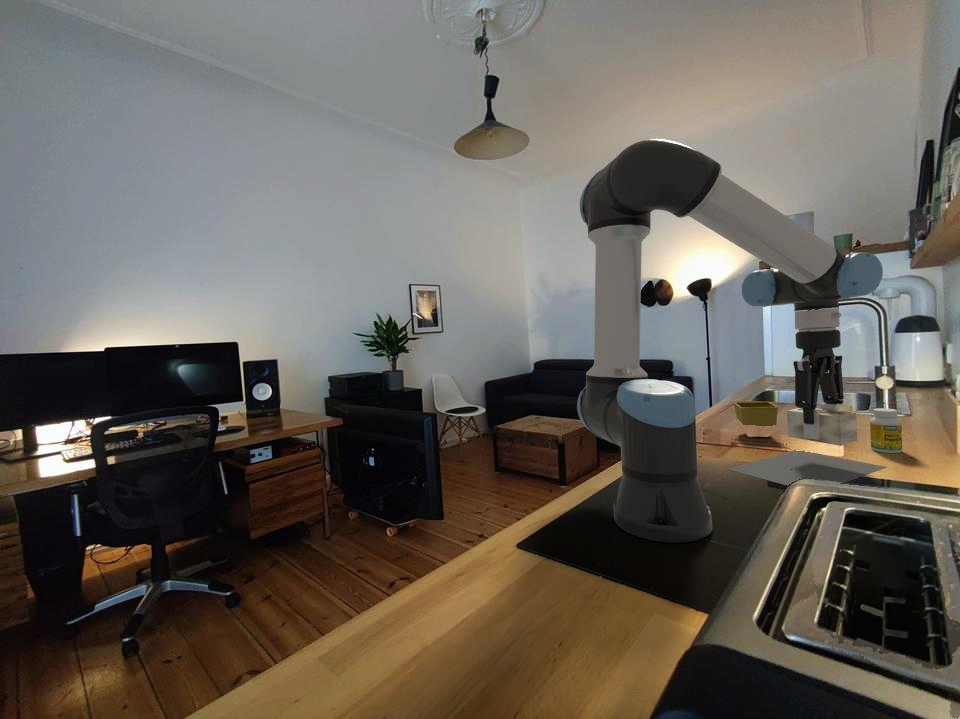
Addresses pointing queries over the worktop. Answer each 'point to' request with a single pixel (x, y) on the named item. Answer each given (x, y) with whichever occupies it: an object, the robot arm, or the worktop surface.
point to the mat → (806, 468)
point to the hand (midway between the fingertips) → (821, 435)
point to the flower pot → (756, 413)
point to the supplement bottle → (886, 431)
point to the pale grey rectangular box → (826, 426)
